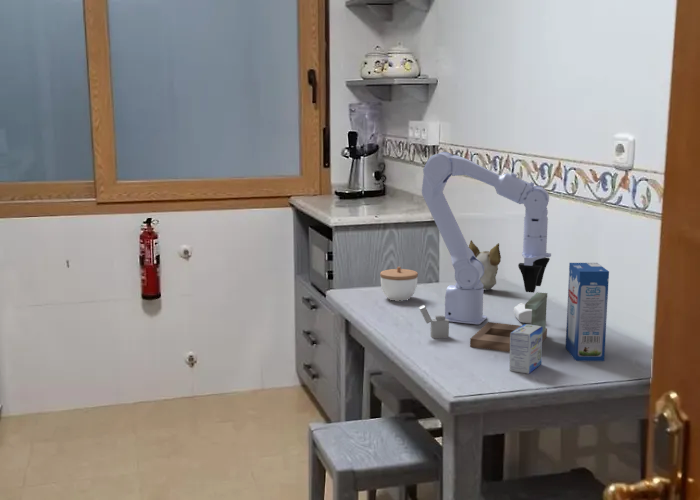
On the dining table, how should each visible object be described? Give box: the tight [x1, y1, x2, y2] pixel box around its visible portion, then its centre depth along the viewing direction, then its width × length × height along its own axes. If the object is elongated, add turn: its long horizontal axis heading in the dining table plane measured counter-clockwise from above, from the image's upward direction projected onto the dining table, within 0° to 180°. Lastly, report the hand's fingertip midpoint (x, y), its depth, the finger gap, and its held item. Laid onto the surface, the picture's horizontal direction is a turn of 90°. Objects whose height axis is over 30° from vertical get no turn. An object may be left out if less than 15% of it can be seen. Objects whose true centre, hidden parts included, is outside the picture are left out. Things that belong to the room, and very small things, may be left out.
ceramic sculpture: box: [468, 239, 502, 290], centre depth 249 cm, size 11×9×15 cm
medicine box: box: [509, 323, 543, 375], centre depth 176 cm, size 8×4×9 cm, turn 148°
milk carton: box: [565, 262, 610, 362], centre depth 185 cm, size 10×6×20 cm, turn 178°
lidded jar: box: [379, 266, 419, 302], centre depth 238 cm, size 11×11×9 cm
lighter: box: [418, 304, 450, 339], centre depth 199 cm, size 7×2×8 cm, turn 98°
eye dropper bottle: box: [513, 302, 532, 324], centre depth 218 cm, size 4×6×12 cm
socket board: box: [469, 291, 548, 353], centre depth 195 cm, size 14×16×11 cm
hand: (533, 288), depth 209 cm, fingers open, 7 cm apart
